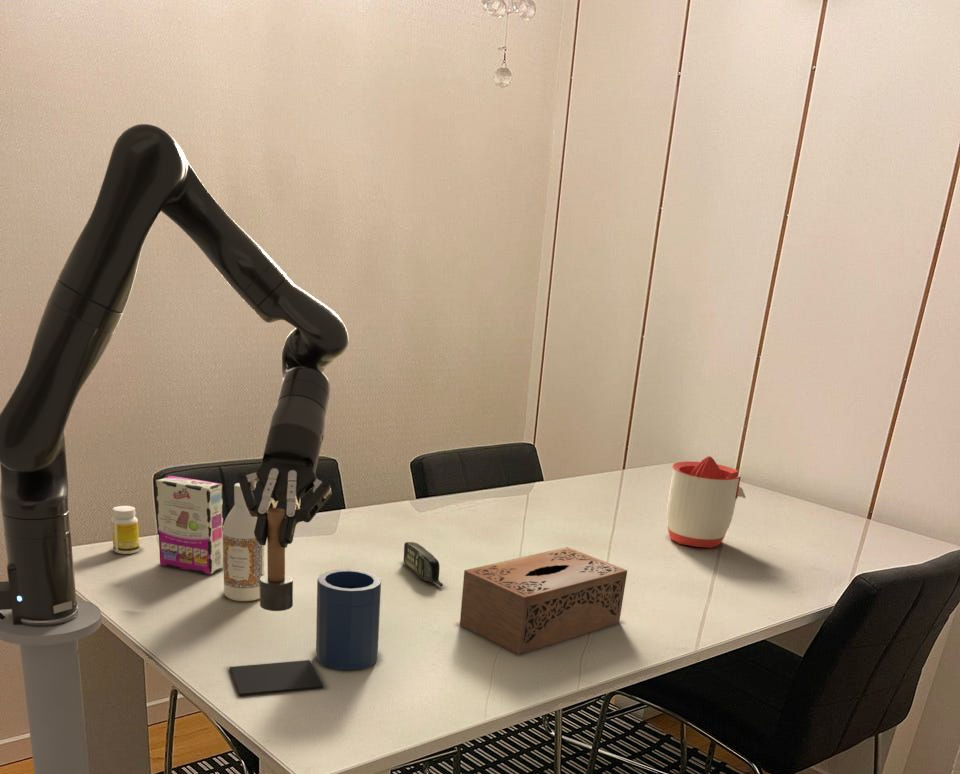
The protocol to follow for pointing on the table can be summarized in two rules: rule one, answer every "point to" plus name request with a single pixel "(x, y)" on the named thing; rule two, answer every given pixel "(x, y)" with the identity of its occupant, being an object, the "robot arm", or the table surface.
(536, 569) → the tissue box cover
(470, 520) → the table surface
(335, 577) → the blue pen holder
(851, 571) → the table surface
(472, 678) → the table surface
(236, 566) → the bath foam
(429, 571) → the mobile phone
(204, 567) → the candy bar box
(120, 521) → the supplement bottle
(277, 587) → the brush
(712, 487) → the citrus juicer
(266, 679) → the mat
